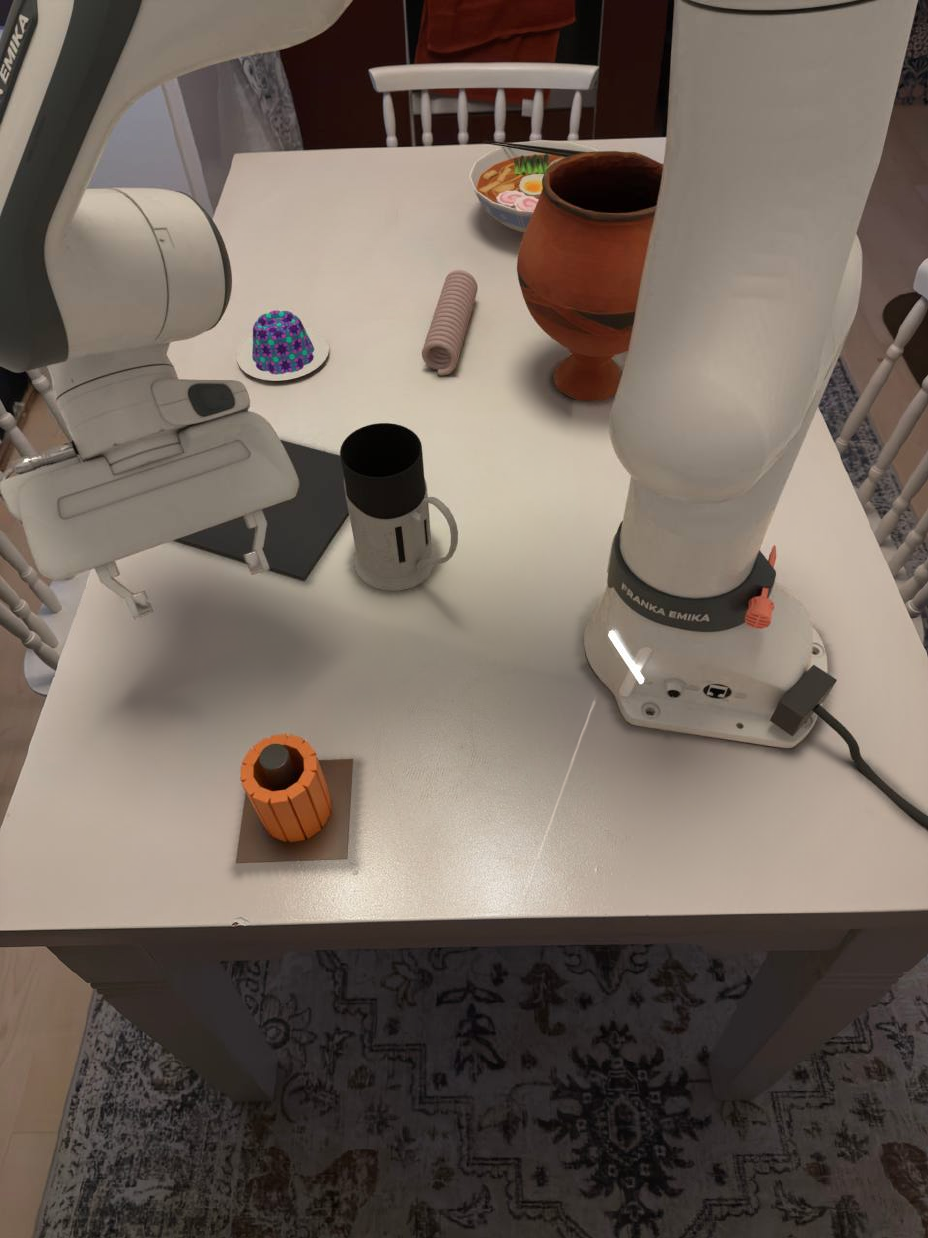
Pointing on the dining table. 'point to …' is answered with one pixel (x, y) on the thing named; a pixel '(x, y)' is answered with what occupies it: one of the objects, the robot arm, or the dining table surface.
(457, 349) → the coil
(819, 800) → the dining table surface
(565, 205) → the goblet
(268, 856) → the stake stand
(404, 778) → the dining table surface
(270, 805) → the orange grooved hollow cylinder
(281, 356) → the pudding
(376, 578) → the glass holder
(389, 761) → the dining table surface
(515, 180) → the ramen bowl
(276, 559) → the mat
